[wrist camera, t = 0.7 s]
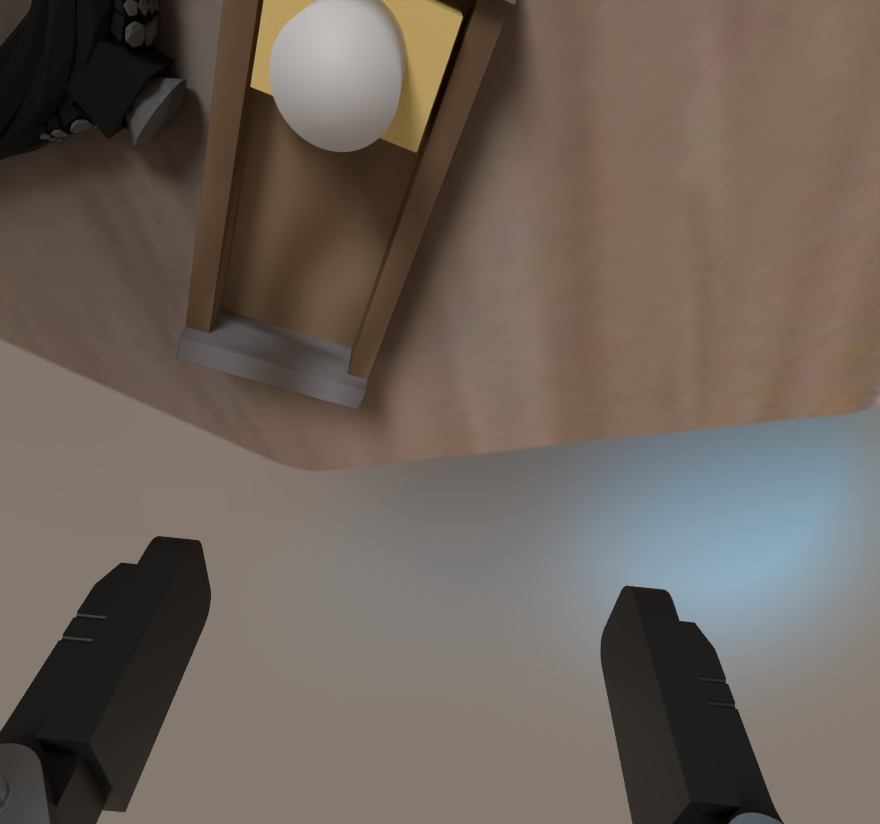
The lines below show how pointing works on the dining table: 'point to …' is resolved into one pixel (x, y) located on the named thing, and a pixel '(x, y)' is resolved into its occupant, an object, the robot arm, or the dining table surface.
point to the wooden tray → (313, 222)
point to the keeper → (355, 67)
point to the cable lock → (84, 74)
